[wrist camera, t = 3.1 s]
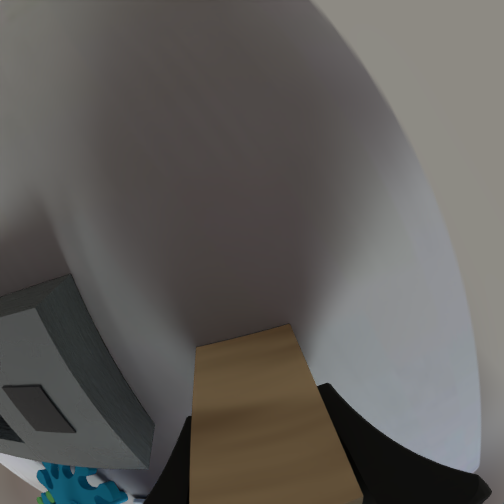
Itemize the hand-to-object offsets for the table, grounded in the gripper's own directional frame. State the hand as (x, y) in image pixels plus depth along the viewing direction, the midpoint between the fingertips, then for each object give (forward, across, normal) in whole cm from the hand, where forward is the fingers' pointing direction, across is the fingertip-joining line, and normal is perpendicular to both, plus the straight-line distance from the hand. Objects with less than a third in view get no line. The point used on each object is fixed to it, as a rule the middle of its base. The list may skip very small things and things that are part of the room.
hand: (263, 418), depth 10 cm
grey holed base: (+3, +16, -2) cm, 16 cm away
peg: (+3, 0, 0) cm, 3 cm away
